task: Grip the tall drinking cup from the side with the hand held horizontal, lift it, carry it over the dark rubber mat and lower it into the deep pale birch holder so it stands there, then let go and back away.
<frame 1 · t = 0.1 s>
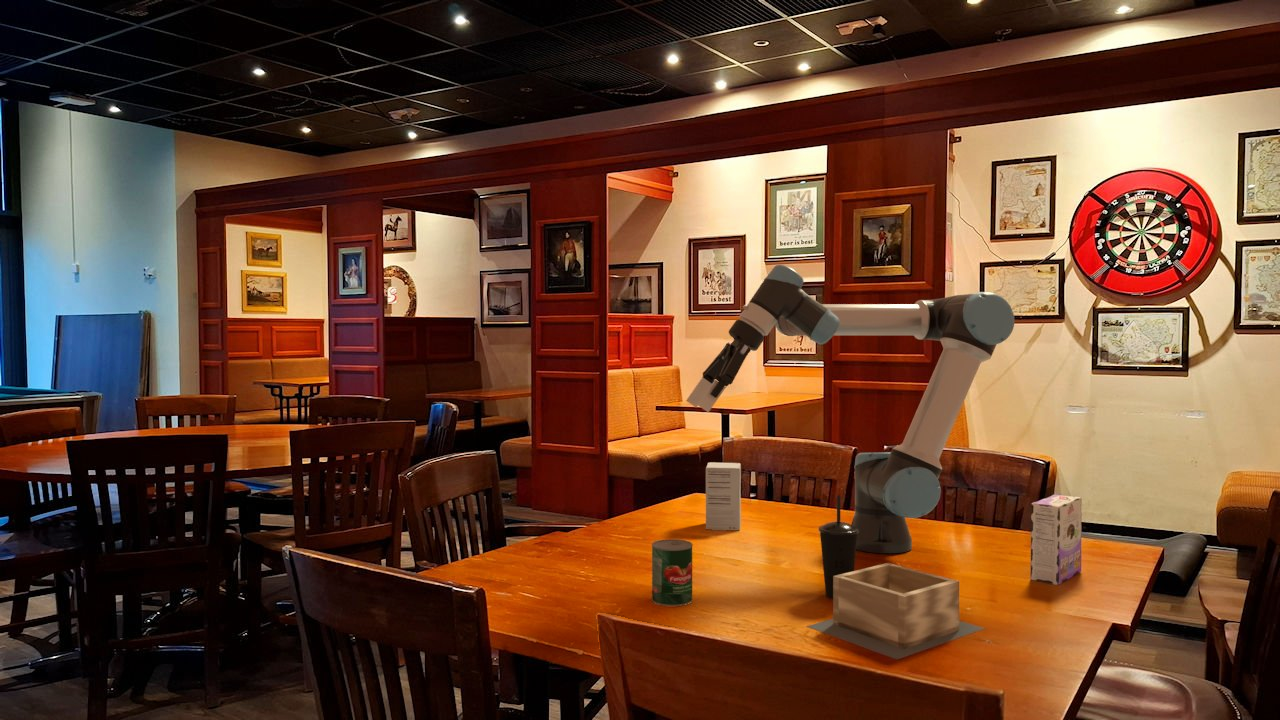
hand: (696, 406, 186), 36 cm above the table, tool tilted 35°, fingers open, 13 cm apart
canned tomato: (672, 601, 164), on the table
holder: (895, 627, 147), resting on mat
supplement box: (723, 527, 228), on the table
drinking cup: (838, 599, 165), on the table
mat: (895, 629, 147), on the table
candy box: (1056, 577, 180), on the table
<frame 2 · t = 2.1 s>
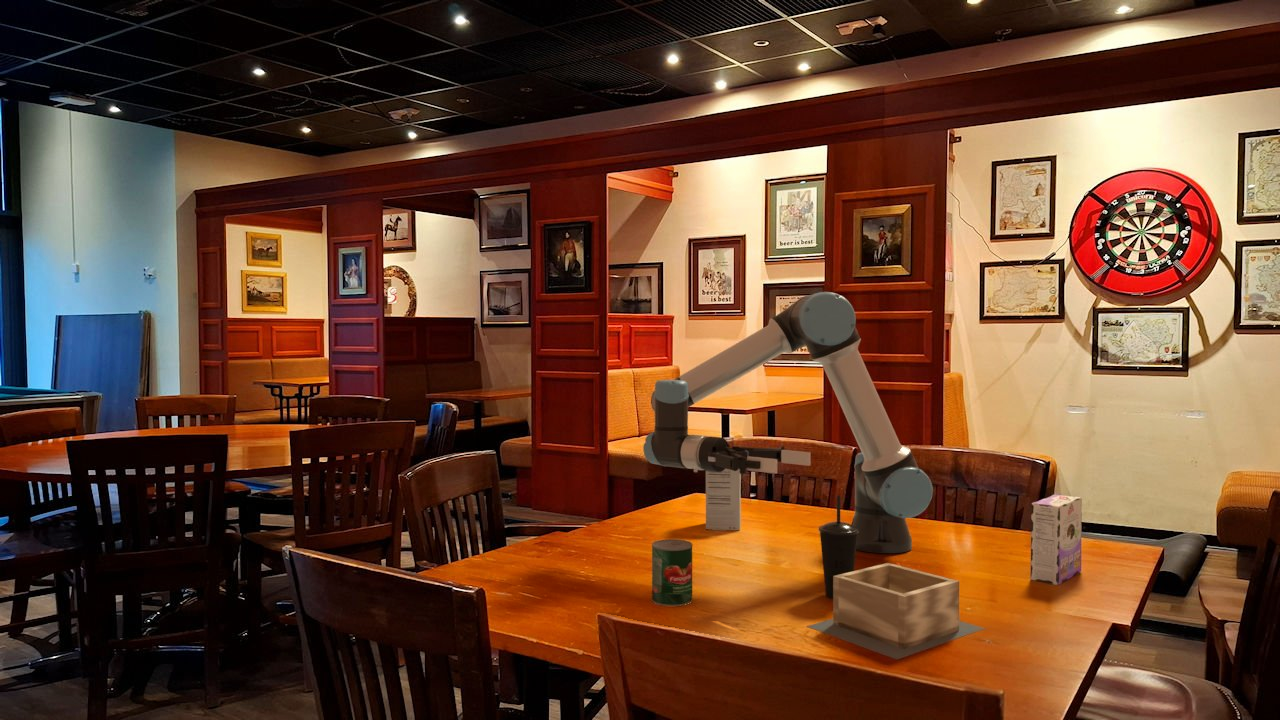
hand: (793, 462, 171), 26 cm above the table, tool horizontal, fingers open, 13 cm apart
nothing on the table moved.
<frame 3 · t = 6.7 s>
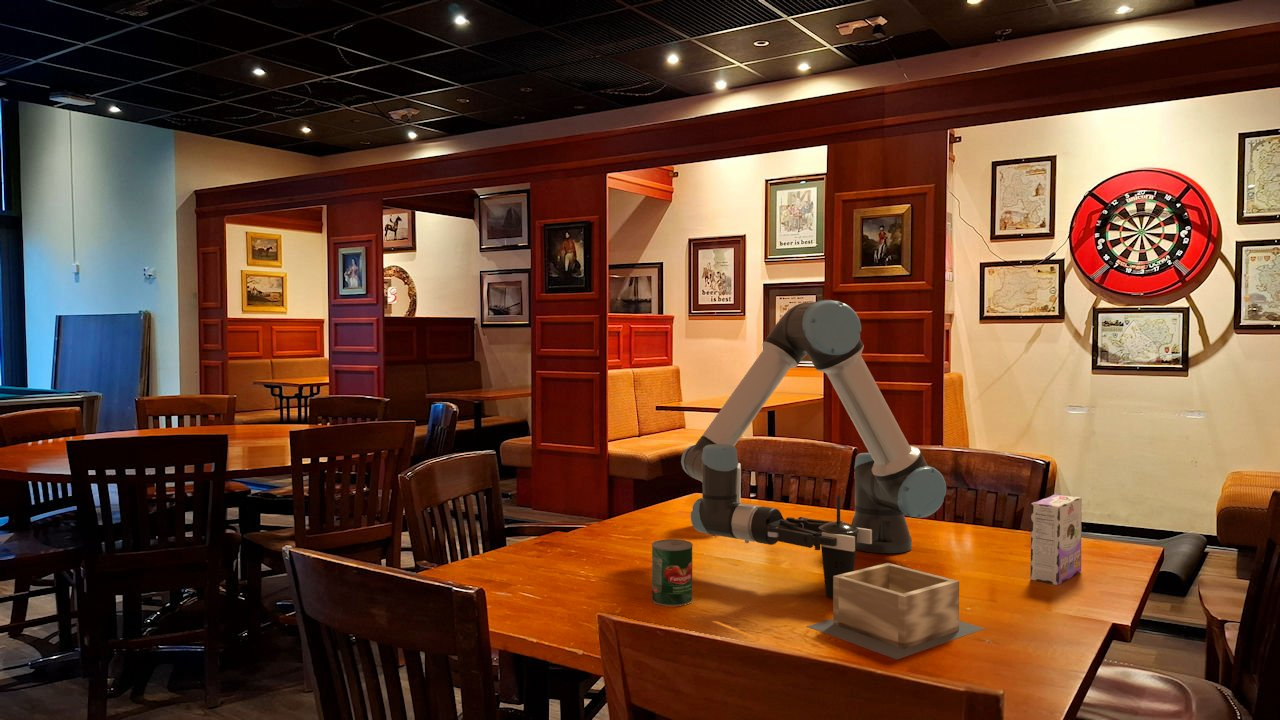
hand: (862, 540, 162), 12 cm above the table, tool horizontal, fingers closed on drinking cup, 7 cm apart
drinking cup: (838, 598, 165), on the table, touching gripper
everything else where it was.
when the fingers open (15 cm above the table, at t = 12.9 s): drinking cup drops 1 cm, resting on holder.
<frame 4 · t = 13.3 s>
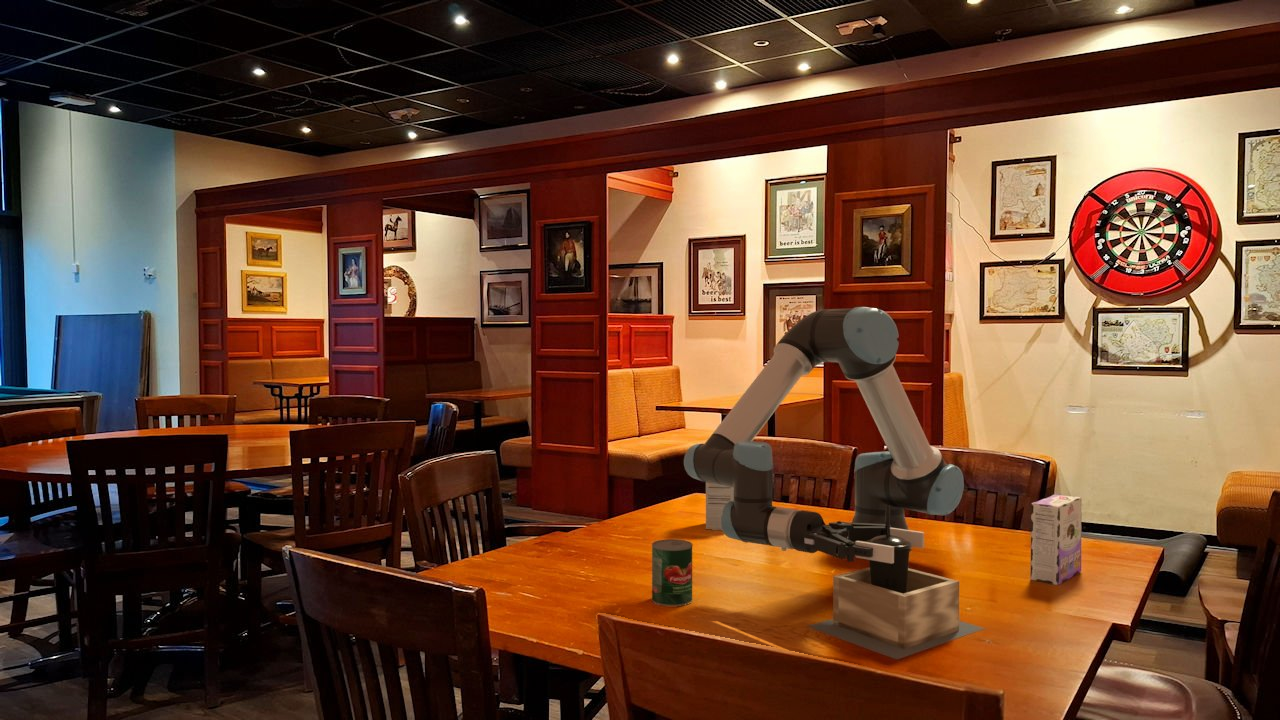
hand: (909, 547, 145), 15 cm above the table, tool horizontal, fingers open, 13 cm apart
drinking cup: (889, 622, 148), point 1 cm above the table, touching holder
everything else where it was.
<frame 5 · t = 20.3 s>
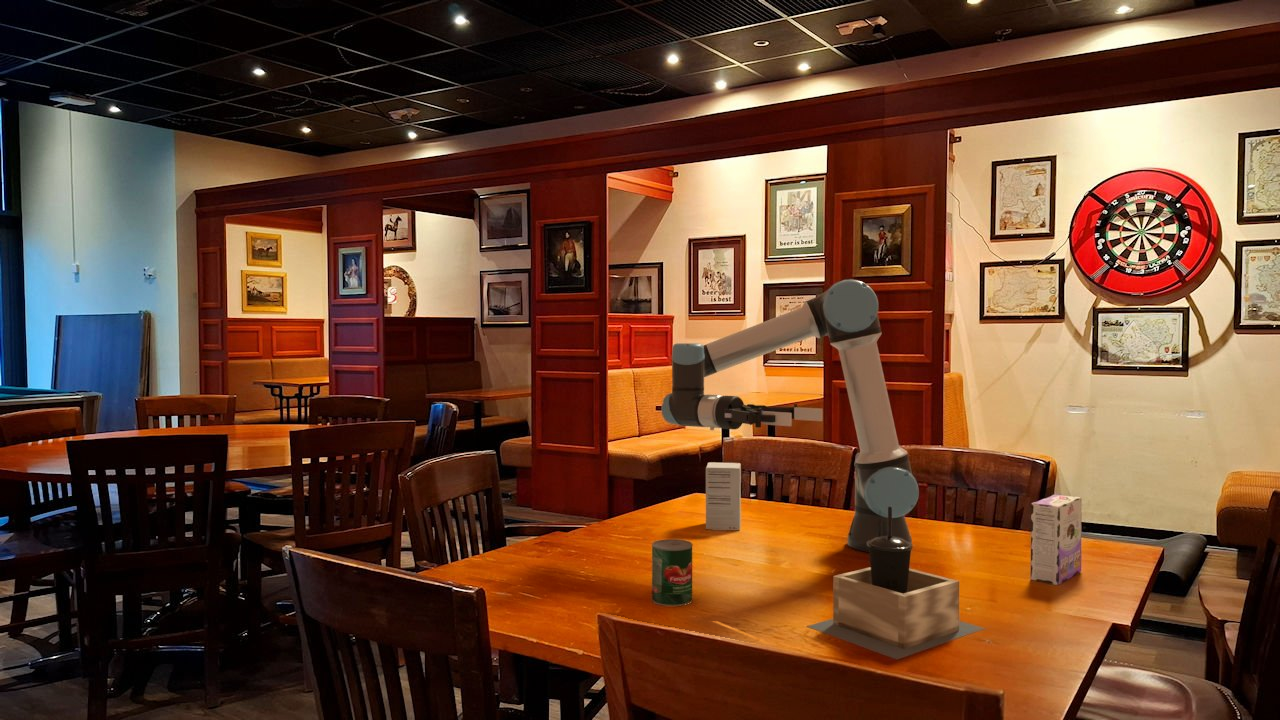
hand: (806, 417, 179), 34 cm above the table, tool horizontal, fingers open, 13 cm apart
nothing on the table moved.
at the end: drinking cup inside the target area on the holder (1.1 cm from its centre), point 0.6 cm above the holder's base; drinking cup tilted 0°; the gripper is holding nothing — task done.
